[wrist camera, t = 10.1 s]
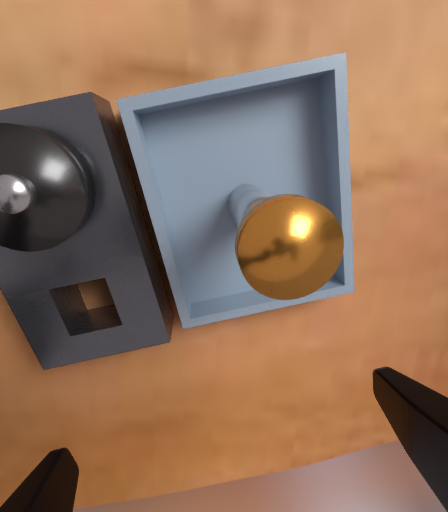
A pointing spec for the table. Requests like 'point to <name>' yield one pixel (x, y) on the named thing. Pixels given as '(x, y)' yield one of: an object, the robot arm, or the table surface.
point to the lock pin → (284, 242)
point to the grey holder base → (75, 234)
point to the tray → (239, 173)
